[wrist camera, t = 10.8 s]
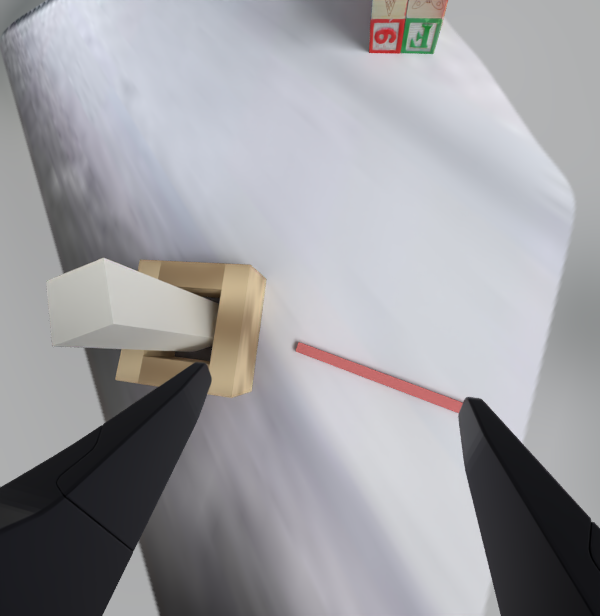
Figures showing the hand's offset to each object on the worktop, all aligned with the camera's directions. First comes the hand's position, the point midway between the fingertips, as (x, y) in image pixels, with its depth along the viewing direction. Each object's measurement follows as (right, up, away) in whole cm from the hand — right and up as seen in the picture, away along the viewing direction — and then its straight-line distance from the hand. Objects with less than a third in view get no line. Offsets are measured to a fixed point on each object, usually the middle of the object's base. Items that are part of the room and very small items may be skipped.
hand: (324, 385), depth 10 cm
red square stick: (+5, -3, +13) cm, 14 cm away
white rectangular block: (-9, +1, +16) cm, 19 cm away
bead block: (-9, +1, +16) cm, 19 cm away
